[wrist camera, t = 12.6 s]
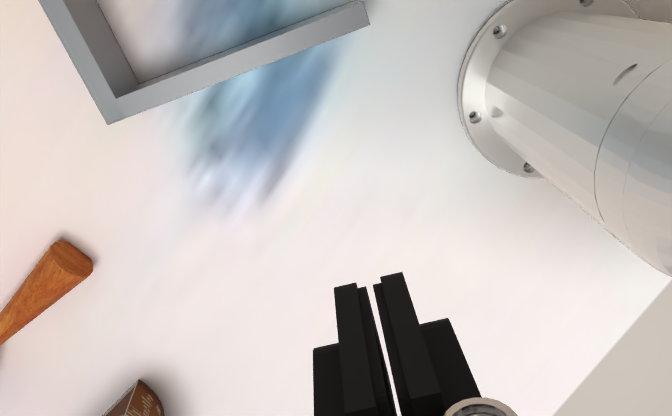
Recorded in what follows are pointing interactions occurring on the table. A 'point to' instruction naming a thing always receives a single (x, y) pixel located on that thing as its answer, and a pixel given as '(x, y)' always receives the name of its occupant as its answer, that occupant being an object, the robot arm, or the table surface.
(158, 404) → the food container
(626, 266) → the table surface
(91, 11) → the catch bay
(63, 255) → the kendama
